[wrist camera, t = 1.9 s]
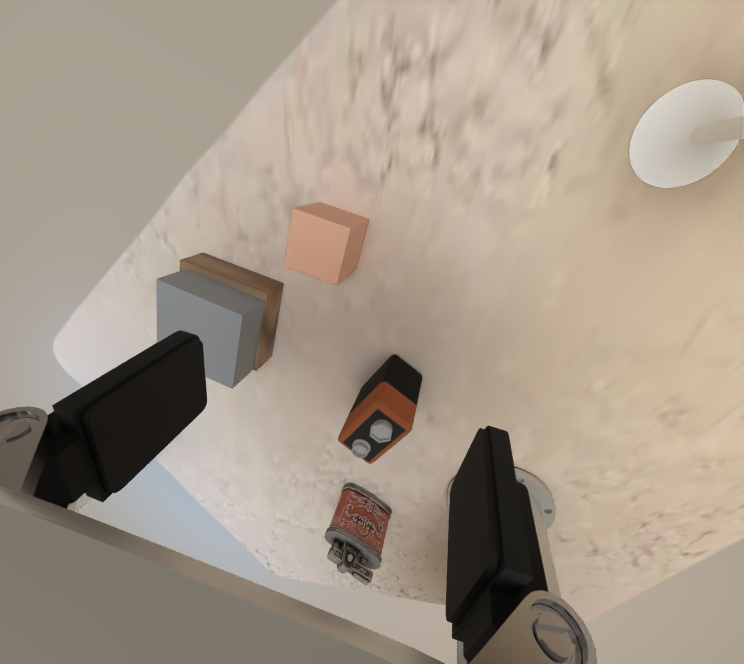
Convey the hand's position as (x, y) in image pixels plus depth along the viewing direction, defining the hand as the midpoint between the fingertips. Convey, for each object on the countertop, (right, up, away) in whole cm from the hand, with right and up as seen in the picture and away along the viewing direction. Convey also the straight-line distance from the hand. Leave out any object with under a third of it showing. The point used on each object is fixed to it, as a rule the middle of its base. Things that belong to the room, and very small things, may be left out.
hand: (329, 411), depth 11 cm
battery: (+4, -3, +28) cm, 28 cm away
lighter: (+1, -22, +38) cm, 44 cm away
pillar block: (-2, +12, +22) cm, 25 cm away
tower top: (-15, +4, +26) cm, 30 cm away
